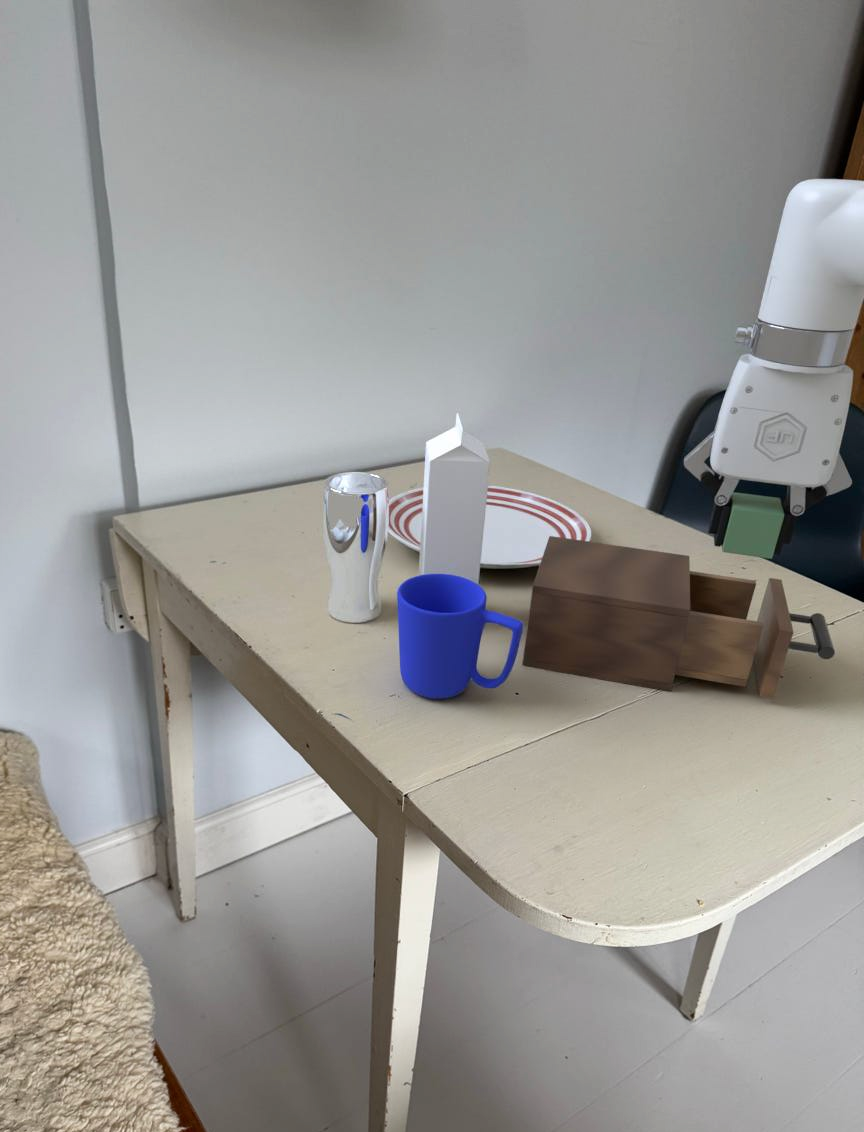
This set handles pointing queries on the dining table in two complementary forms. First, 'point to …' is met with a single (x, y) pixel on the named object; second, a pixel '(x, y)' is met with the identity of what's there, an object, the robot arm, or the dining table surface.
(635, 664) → the cabinet
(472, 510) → the milk
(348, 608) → the beer glass
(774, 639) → the drawer
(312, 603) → the dining table surface
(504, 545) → the dinner plate
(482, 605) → the mug
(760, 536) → the block
